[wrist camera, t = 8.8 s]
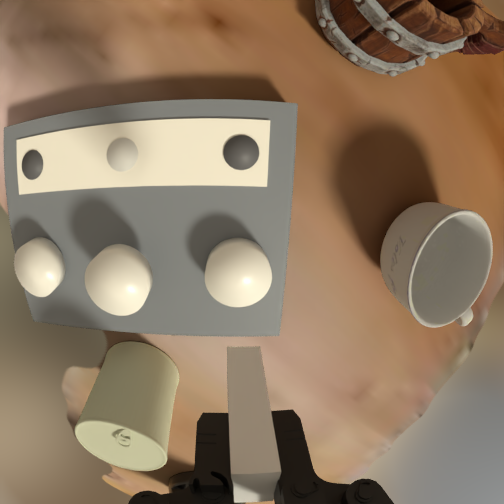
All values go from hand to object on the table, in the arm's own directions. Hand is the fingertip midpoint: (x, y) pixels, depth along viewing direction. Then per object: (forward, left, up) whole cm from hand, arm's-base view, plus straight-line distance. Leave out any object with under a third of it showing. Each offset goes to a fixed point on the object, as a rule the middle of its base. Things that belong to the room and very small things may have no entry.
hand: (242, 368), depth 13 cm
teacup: (0, -19, -15) cm, 24 cm away
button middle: (0, +9, -10) cm, 13 cm away
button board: (+3, +9, -15) cm, 17 cm away
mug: (+23, -13, -15) cm, 31 cm away
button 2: (0, +18, -11) cm, 21 cm away
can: (-15, +11, -15) cm, 24 cm away
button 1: (0, 0, -11) cm, 11 cm away
